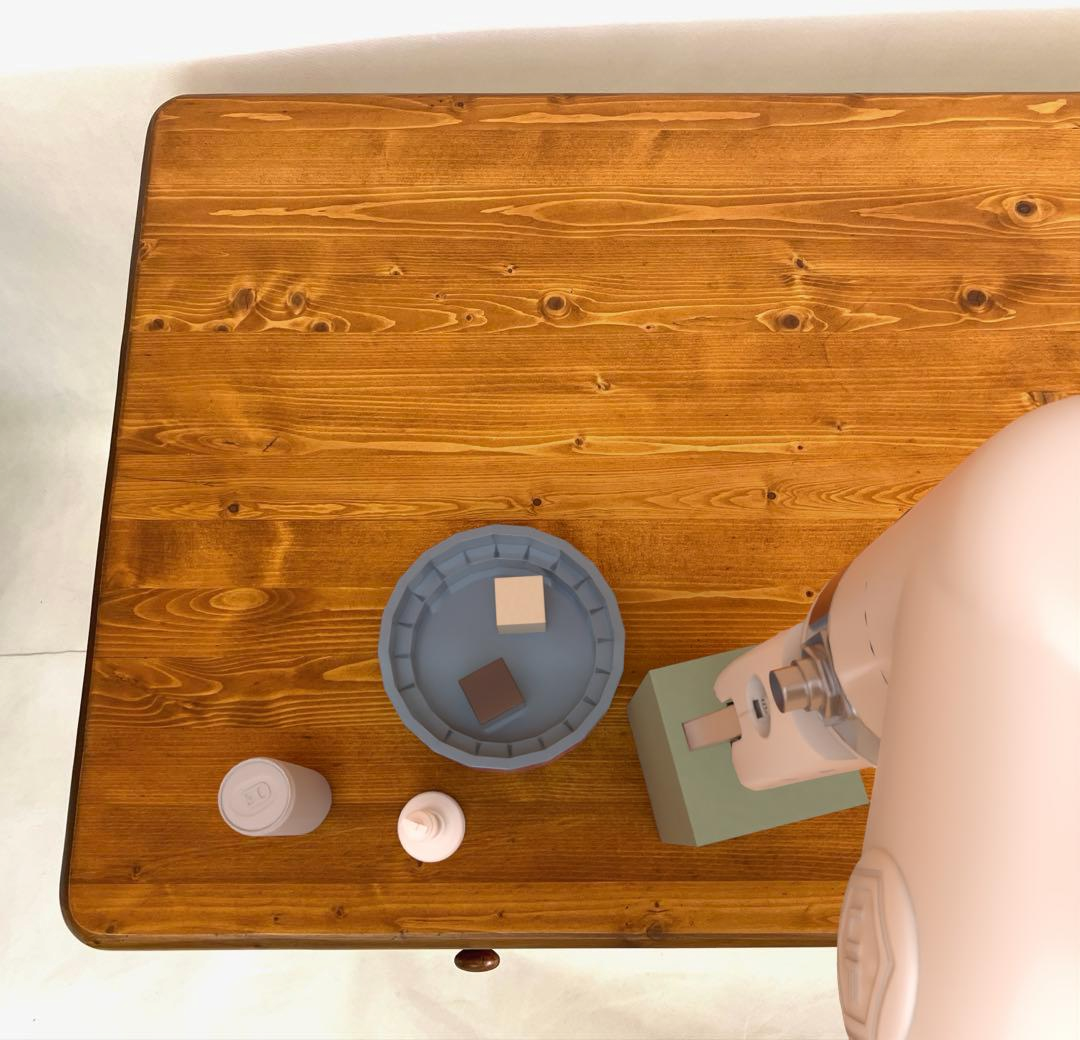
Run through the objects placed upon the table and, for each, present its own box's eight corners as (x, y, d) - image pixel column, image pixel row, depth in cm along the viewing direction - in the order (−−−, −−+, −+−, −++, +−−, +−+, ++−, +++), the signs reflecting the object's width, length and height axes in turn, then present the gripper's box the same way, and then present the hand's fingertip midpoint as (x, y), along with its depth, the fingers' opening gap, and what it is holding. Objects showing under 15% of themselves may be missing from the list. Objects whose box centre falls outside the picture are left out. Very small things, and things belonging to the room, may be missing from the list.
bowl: (645, 741, 73) (653, 734, 68) (415, 798, 72) (404, 796, 67) (587, 523, 78) (590, 501, 73) (371, 573, 77) (358, 554, 72)
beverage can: (258, 786, 72) (203, 778, 61) (318, 755, 73) (275, 742, 62) (283, 847, 71) (232, 850, 60) (344, 815, 72) (305, 813, 60)
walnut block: (526, 706, 73) (525, 700, 70) (483, 730, 73) (480, 725, 69) (503, 664, 74) (501, 656, 71) (461, 687, 74) (457, 680, 70)
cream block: (545, 631, 75) (545, 622, 72) (498, 634, 75) (496, 625, 72) (542, 586, 76) (542, 574, 73) (496, 589, 76) (494, 577, 73)
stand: (793, 809, 72) (870, 802, 54) (661, 842, 71) (697, 846, 54) (752, 676, 75) (813, 630, 57) (625, 707, 74) (648, 670, 57)
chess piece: (451, 871, 70) (435, 878, 61) (387, 848, 71) (362, 851, 61) (474, 804, 72) (463, 800, 62) (412, 782, 72) (391, 775, 63)
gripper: (716, 844, 28) (652, 838, 46) (1232, 712, 29) (977, 756, 47) (647, 598, 31) (611, 682, 48) (1130, 484, 32) (922, 607, 49)
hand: (793, 718), depth 47 cm, fingers closed on stirring stick, 2 cm apart
